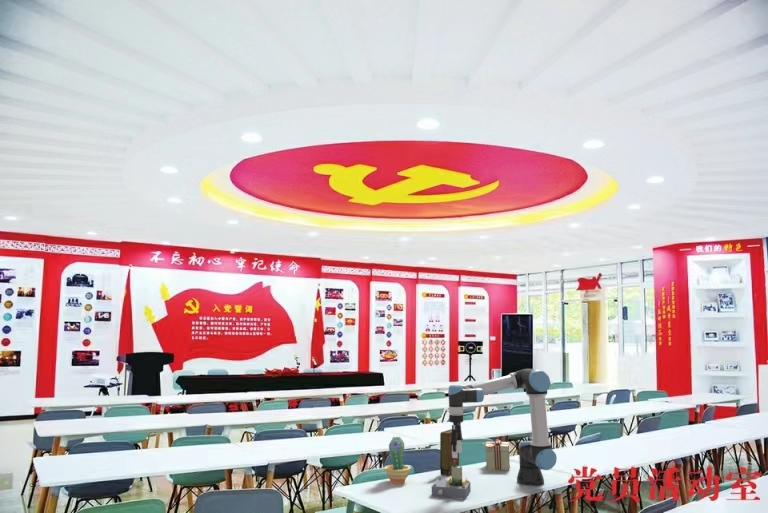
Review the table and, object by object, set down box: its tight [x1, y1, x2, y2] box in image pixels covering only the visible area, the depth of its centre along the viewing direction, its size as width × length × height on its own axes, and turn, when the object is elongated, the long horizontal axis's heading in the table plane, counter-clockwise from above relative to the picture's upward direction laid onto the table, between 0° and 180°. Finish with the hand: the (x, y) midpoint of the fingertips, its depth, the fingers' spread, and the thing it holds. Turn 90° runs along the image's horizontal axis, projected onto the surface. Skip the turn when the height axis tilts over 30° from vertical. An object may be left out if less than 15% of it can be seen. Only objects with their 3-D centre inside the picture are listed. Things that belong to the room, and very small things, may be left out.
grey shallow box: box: [431, 476, 472, 500], centre depth 301 cm, size 18×18×8 cm
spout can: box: [451, 460, 463, 487], centre depth 302 cm, size 6×6×14 cm
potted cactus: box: [384, 436, 412, 485], centre depth 328 cm, size 15×15×25 cm
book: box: [439, 428, 460, 477], centre depth 350 cm, size 16×6×25 cm, turn 148°
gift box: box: [480, 438, 511, 471], centre depth 365 cm, size 17×18×17 cm
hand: (457, 455), depth 304 cm, fingers open, 13 cm apart
